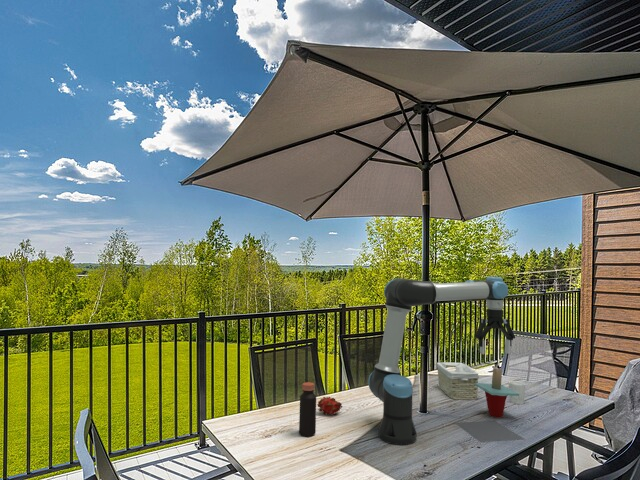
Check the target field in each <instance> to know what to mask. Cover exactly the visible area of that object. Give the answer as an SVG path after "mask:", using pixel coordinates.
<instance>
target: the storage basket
mask: <svg viewBox="0 0 640 480" xmlns="http://www.w3.org/2000/svg"><path fill="white" fill-rule="evenodd" d="M448 368H455V370H449V369H448ZM436 369H437V377H438V380H437V381H438V387H439V389H441V390H442V391H443V392H444V393H445V394H446V396H448V397H449V398H451V399H452V400H477V399H478V389H479V387H477V386H475V385H474V383H479V378H480V375H479V373H478V372H477V371H476V370H475V369H473V368H472V367H470V366H469V365H467V364H466V363H463V362H449V361H448V362H447V361H445V362H436Z"/></svg>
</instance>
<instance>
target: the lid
mask: <svg viewBox="0 0 640 480" xmlns="http://www.w3.org/2000/svg"><path fill="white" fill-rule="evenodd" d="M502 377H503V369H501V368H498V367H493V368H492V378H491V383H486V382H485V383H482V382H478V383H474V385H475V386H477V387H478V389H481V390H482V391H484V392H485V391H486V392H488V393H489V394H491V395H507V397H510V396H519V393H517V392H515V391H513V390H511V389H509V387H506V386H505V385H502V380H503V379H502Z"/></svg>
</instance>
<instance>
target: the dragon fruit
mask: <svg viewBox="0 0 640 480" xmlns="http://www.w3.org/2000/svg"><path fill="white" fill-rule="evenodd" d="M317 402H318V403H316V406H317V407H318V409H317V410H318V411H319V412H323V415H326V416H329V415H332V416H336V415H338V412H339V411H341V410H340V409H342V408H343V404H342V403H341V402H339V401H337V400H336V398H334V397H331V396H327V397H325V396H323V397H322V398H320V400H318V401H317Z"/></svg>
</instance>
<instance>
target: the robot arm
mask: <svg viewBox="0 0 640 480" xmlns="http://www.w3.org/2000/svg"><path fill="white" fill-rule="evenodd" d="M383 293H384V297H385V299H386V300H385V307H386V309H387V315H386V320H385V325H384V331H383V337H382V342H381V347H380V348H381V349H380V354H379V360H378V363H376V364H375V365H374V368H373V371H372V372H371V373H370V374H369V376H368V382H367V385H368V387H369V390H370V391H371V393H372V395H374V397H376V398H377V399H378V400H380V401H381V402H382V403H383V407H382V408H383V409H382V411H383V412H382V413H383V415H382V419H381V423H380V425H379V428H378V437H379V438H380V439H381V440H382V441H384V442H385V443H389V444H392V445H398V446H403V445H404V446H405V445H410V444H414V443H415V442H417V435H418V434H417V430H416V427H415V424H414V420H413V393H414V389H413V383H412V381H411V379H410V378H409V377H406V376H405V375H401V370H400V368H399V362H400V355H401V350H402V344H403V338H404V333H405V332H404V331H405V326H406V321H407V316H408V314H409V313H411V311H412V307H413V306H414V307H416V306H423V305H433V304H434V303H436V302H441V301H442V302H443V301H460V300H461V301H462V300H463V301H464V300H480V299H481V300H482V299H486V300H485V301H486V305H485V306H486V307H485V308H487V309H486V319H485V318H480V323H479V325H478V328H477V329H476V331H475V334H474V338H475V339H477V340H478V343H477V344H478V347H479V353H480V354H481V355H485V354H486V353H485V351H486V350H485V345H486V344H485V343H486V341H485V337H486V336H487V335H488V333H489V332H490V331H491V330H492V329H496V330H497V329H499V330H500V331H501V333H502V334H503V336H504V337H505V339H504V348H505V349H504V353H505V354H507V355H511V347H512V341H514V340H515V339H516V335H515V333H514V331H513V329H512V327H511V324H510V320H509V319H508V318H504V310H503V309H504V299H505V298H506V297H507V296H508V294H509V287H508V285H507V284H506V283H505V282H504V279H503V278H502V277H500V276H487V277H486V280H475V279H474V280H473V279H471V280H470V279H469V280H465V281H464V282H437V283H435V282H433V281H431V280H428V281H424V280H423V281H422V280H417V279H410V278H399V277H398V278H394V279H391V280H390V281H388V282H387V284H386V285H385V286H384V292H383ZM503 324H504V325H503Z"/></svg>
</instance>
